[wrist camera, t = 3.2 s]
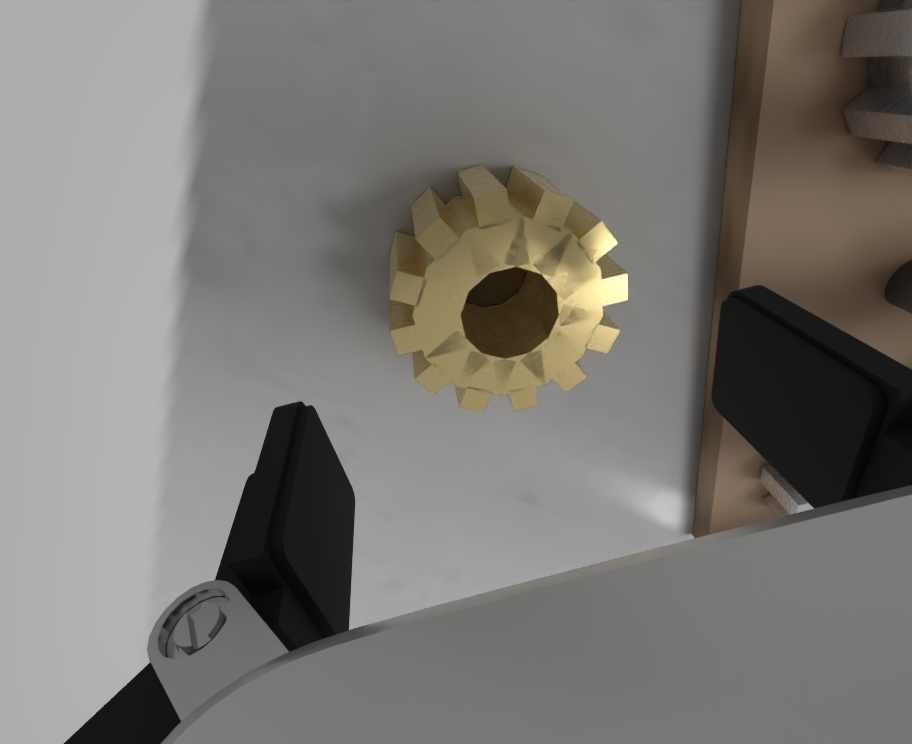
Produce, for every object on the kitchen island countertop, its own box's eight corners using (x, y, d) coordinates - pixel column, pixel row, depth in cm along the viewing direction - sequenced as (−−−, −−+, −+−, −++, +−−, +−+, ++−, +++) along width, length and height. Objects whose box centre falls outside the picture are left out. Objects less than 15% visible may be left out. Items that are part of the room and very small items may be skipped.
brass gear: (577, 141, 16) (625, 159, 13) (589, 331, 20) (629, 383, 17) (363, 194, 16) (355, 226, 13) (417, 372, 20) (422, 432, 17)
